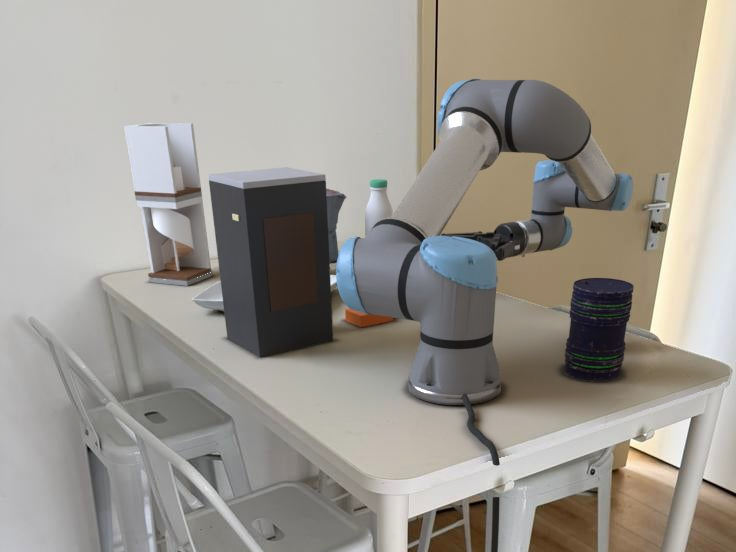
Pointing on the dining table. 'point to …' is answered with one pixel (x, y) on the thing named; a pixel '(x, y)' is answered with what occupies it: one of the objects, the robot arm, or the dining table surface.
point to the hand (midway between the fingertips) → (442, 251)
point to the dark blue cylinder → (597, 329)
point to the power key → (364, 318)
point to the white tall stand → (169, 201)
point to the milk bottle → (377, 204)
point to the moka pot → (333, 220)
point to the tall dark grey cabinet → (273, 258)
